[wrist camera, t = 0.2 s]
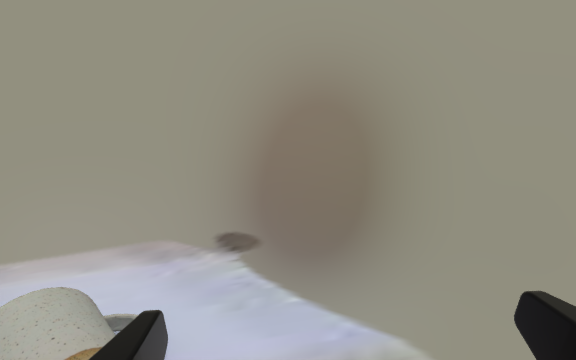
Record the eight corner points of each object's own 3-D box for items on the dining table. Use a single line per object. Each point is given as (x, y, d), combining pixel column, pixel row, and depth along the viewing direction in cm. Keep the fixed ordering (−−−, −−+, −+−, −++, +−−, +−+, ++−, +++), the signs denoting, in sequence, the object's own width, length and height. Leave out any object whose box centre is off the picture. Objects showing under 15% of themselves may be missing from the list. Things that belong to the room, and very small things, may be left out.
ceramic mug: (21, 509, 17) (-40, 423, 14) (-11, 409, 21) (-62, 330, 18) (187, 363, 24) (171, 288, 21) (136, 314, 29) (117, 247, 26)
